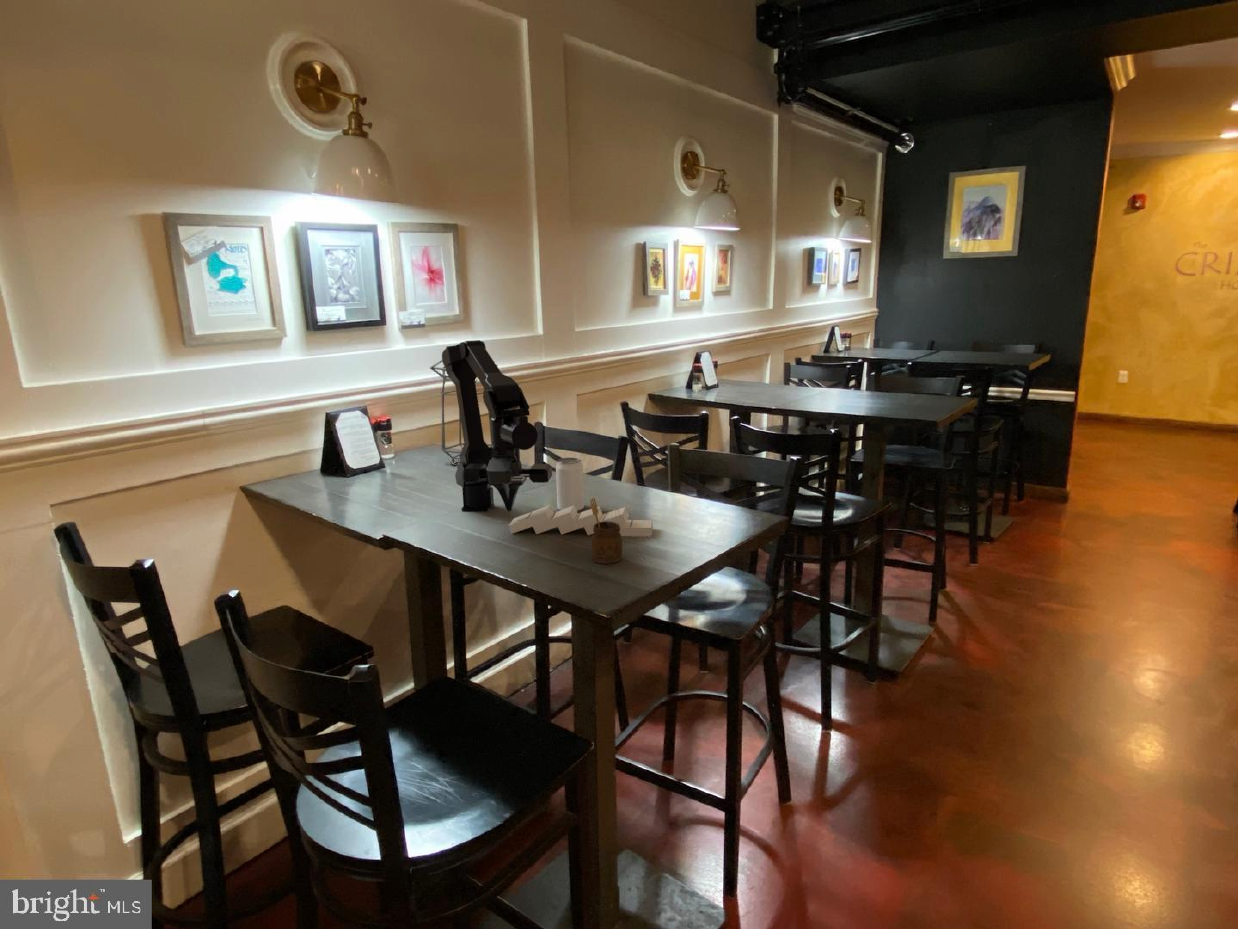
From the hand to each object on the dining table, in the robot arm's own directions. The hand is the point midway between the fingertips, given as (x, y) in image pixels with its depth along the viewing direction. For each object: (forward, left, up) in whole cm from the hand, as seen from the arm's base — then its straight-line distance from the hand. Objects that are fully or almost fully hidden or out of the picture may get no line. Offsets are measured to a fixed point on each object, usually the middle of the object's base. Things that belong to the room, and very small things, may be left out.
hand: (509, 510), depth 157 cm
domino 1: (+1, 0, -4) cm, 4 cm away
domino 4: (+17, 0, -4) cm, 18 cm away
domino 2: (+6, 0, -4) cm, 7 cm away
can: (+11, +16, -5) cm, 20 cm away
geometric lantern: (-27, +61, -5) cm, 67 cm away
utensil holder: (+23, -16, -5) cm, 28 cm away
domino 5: (+22, 0, -4) cm, 23 cm away
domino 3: (+12, 0, -4) cm, 12 cm away
